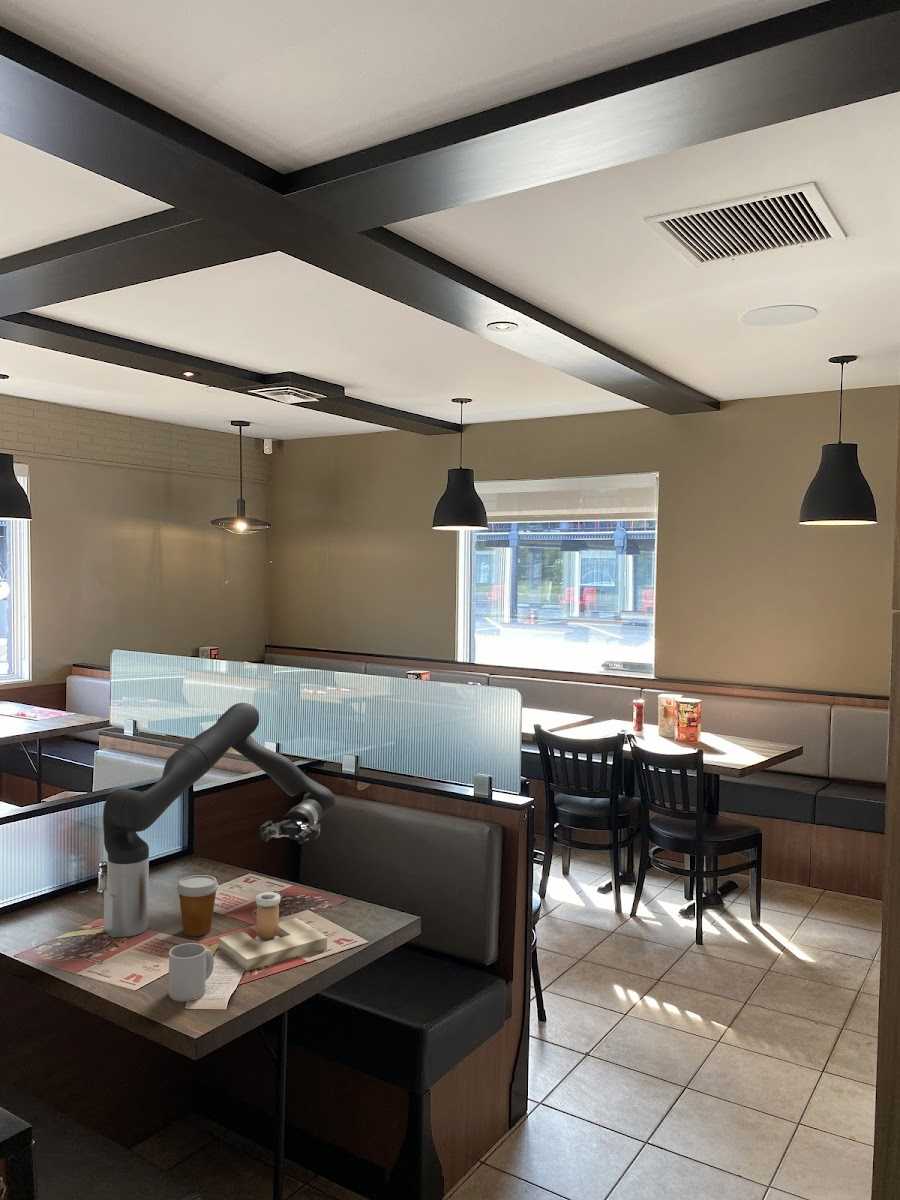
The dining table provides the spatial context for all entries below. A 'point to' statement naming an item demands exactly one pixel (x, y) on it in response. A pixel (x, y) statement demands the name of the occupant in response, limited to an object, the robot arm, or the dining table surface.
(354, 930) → the dining table surface
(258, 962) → the notched board
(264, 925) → the bobbin
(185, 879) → the disposable coffee cup
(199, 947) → the cup
